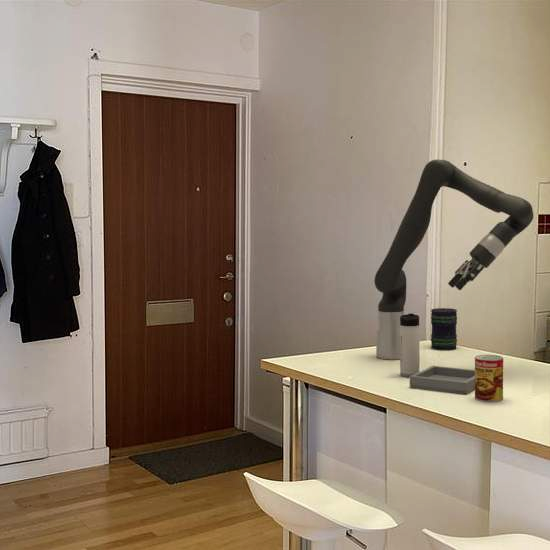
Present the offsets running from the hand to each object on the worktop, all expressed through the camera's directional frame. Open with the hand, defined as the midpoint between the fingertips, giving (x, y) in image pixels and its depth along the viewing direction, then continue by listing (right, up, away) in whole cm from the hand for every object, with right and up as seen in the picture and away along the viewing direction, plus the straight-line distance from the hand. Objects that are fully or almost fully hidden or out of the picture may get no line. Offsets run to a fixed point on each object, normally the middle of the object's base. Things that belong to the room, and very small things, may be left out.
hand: (453, 287), depth 259 cm
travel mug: (-14, -29, +1) cm, 32 cm away
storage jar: (+7, -24, +47) cm, 53 cm away
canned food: (+3, -32, -31) cm, 44 cm away
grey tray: (-5, -30, -14) cm, 33 cm away
